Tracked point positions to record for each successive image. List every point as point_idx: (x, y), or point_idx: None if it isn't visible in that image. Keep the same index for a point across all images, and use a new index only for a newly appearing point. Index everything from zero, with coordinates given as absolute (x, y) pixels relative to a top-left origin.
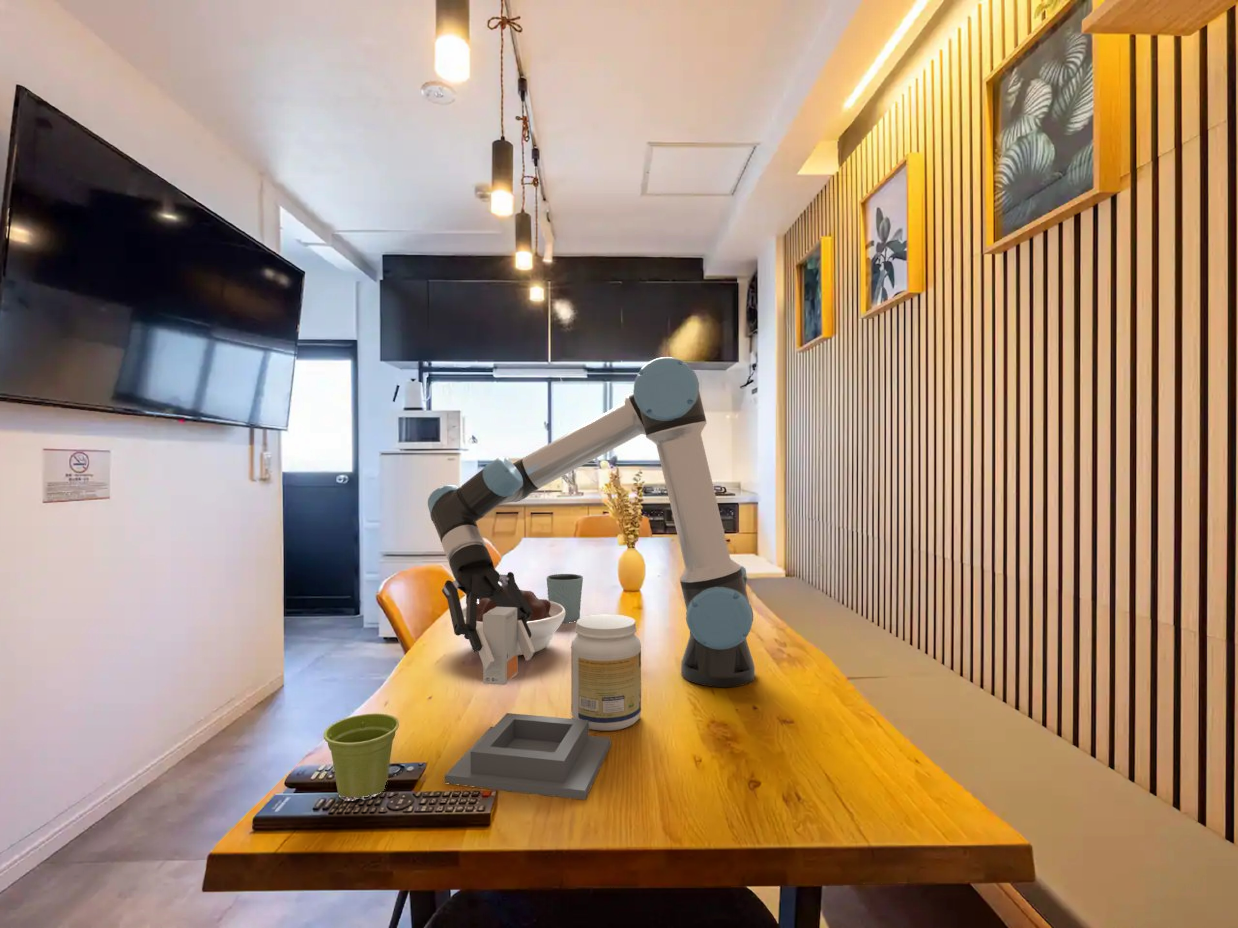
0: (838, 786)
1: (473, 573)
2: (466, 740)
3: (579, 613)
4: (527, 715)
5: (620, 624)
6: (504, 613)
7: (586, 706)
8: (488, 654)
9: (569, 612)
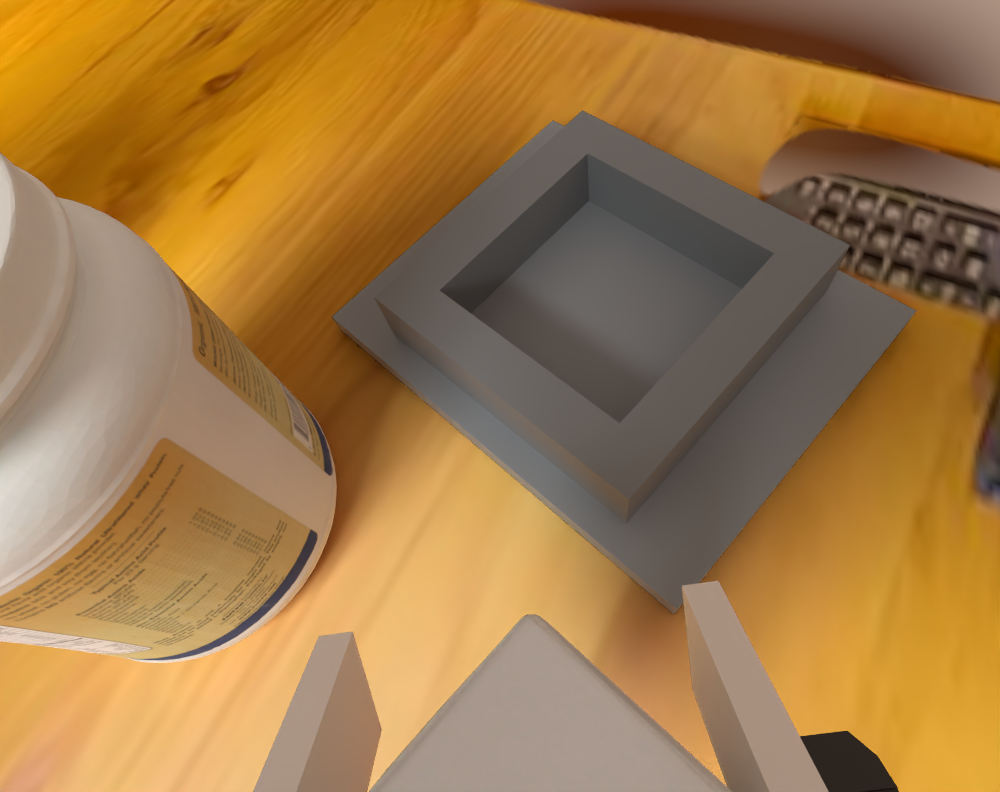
0: (117, 38)
1: None
2: (790, 607)
3: None
4: (554, 433)
5: None
6: (502, 721)
7: (301, 414)
8: (732, 622)
9: None
